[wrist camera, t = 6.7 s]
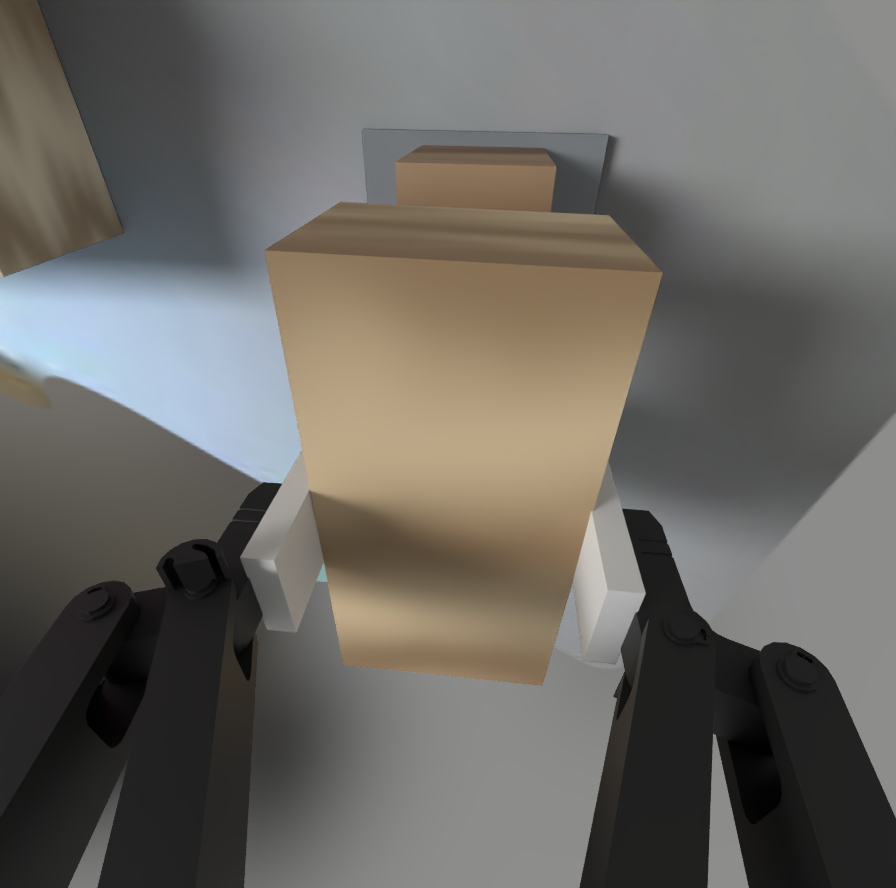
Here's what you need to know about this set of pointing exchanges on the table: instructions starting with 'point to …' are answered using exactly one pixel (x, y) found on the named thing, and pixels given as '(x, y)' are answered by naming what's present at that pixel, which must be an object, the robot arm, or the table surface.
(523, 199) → the pillar
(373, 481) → the lintel
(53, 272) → the table surface
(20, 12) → the wooden open box
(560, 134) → the mat
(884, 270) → the table surface
